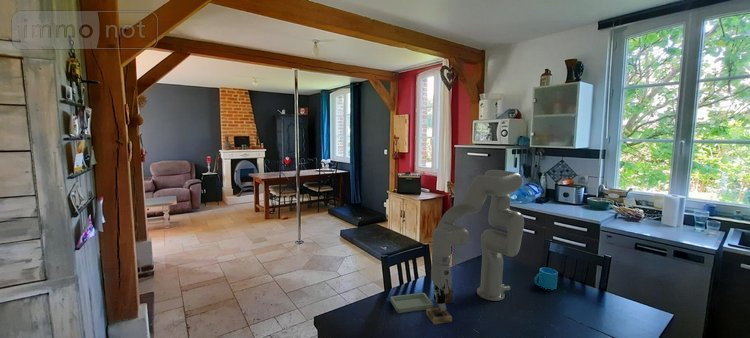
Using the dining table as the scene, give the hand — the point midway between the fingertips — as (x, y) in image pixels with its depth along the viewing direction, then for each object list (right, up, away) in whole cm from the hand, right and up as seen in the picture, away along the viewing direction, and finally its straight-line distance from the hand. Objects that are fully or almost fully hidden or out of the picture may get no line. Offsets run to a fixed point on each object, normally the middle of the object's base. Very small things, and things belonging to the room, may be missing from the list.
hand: (439, 300), depth 132 cm
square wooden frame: (0, -7, +1) cm, 7 cm away
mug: (+60, -5, +30) cm, 67 cm away
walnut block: (+6, -6, +15) cm, 17 cm away
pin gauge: (+1, -4, +1) cm, 4 cm away
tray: (-10, -6, +10) cm, 16 cm away
